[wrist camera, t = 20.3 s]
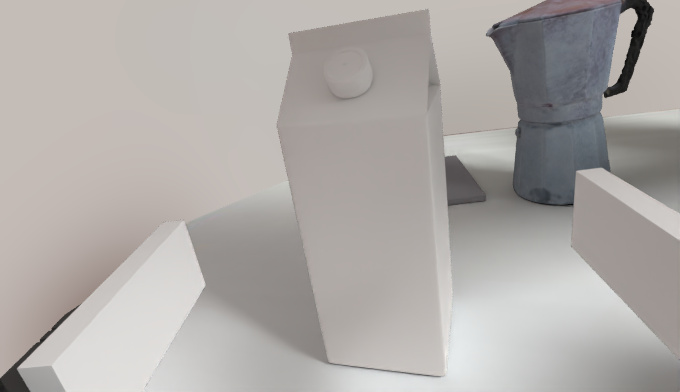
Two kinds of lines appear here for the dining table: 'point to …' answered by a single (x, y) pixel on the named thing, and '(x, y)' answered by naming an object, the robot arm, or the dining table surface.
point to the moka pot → (564, 88)
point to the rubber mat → (460, 183)
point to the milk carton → (372, 190)
